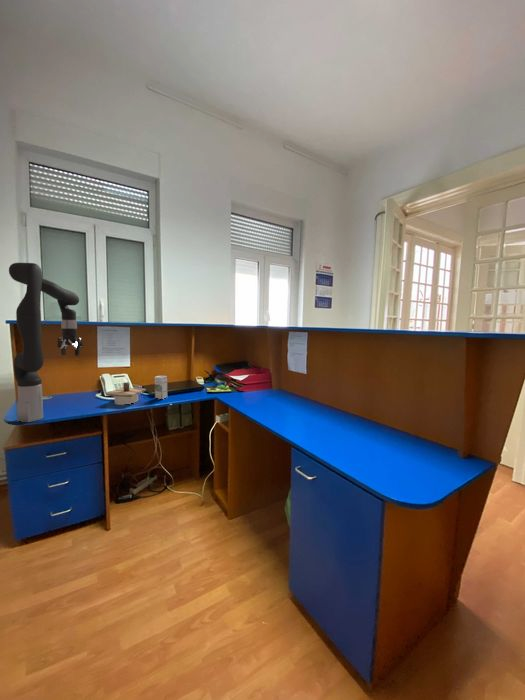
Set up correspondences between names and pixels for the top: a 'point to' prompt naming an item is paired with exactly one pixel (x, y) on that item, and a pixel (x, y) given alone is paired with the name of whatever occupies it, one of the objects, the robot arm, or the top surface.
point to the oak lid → (126, 391)
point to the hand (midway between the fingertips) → (70, 355)
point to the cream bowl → (125, 400)
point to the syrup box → (160, 387)
